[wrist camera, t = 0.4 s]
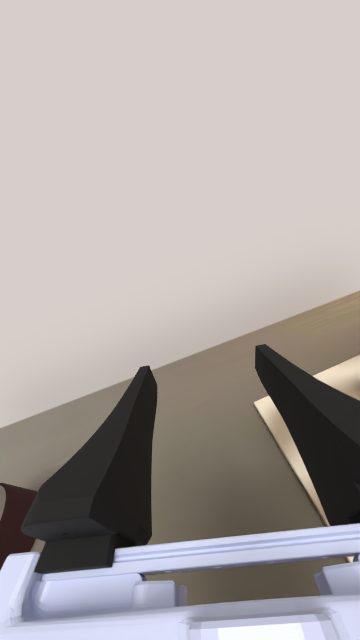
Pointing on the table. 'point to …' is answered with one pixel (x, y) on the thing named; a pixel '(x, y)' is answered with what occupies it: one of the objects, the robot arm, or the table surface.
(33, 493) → the coffee cup
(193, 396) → the table surface
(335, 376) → the plate
